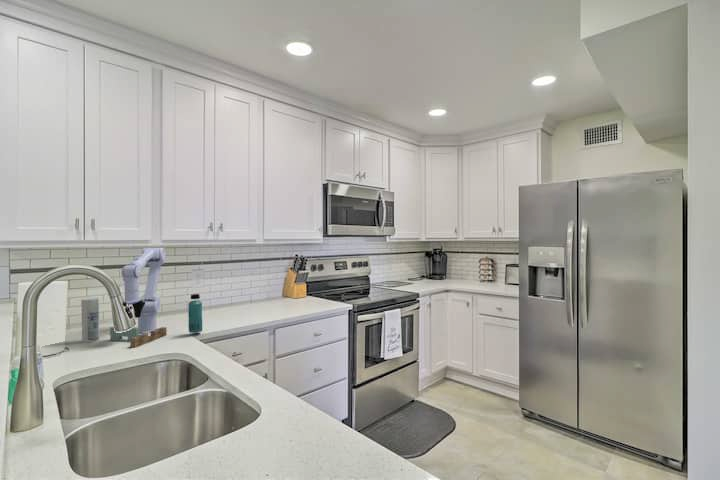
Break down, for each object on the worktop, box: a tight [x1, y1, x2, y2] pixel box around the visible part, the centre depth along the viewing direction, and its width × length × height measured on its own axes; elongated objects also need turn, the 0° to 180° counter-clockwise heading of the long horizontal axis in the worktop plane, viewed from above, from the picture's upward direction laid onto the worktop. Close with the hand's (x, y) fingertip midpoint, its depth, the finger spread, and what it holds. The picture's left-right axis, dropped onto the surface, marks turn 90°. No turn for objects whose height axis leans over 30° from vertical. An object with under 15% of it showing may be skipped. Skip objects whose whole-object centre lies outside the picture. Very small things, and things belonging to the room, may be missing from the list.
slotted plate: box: [109, 326, 141, 342], centre depth 171 cm, size 14×2×6 cm, turn 81°
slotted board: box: [129, 326, 167, 349], centre depth 169 cm, size 20×2×4 cm, turn 171°
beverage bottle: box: [187, 293, 203, 334], centre depth 180 cm, size 6×7×20 cm
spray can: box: [80, 297, 100, 344], centre depth 170 cm, size 6×6×20 cm
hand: (132, 319), depth 171 cm, fingers open, 7 cm apart
